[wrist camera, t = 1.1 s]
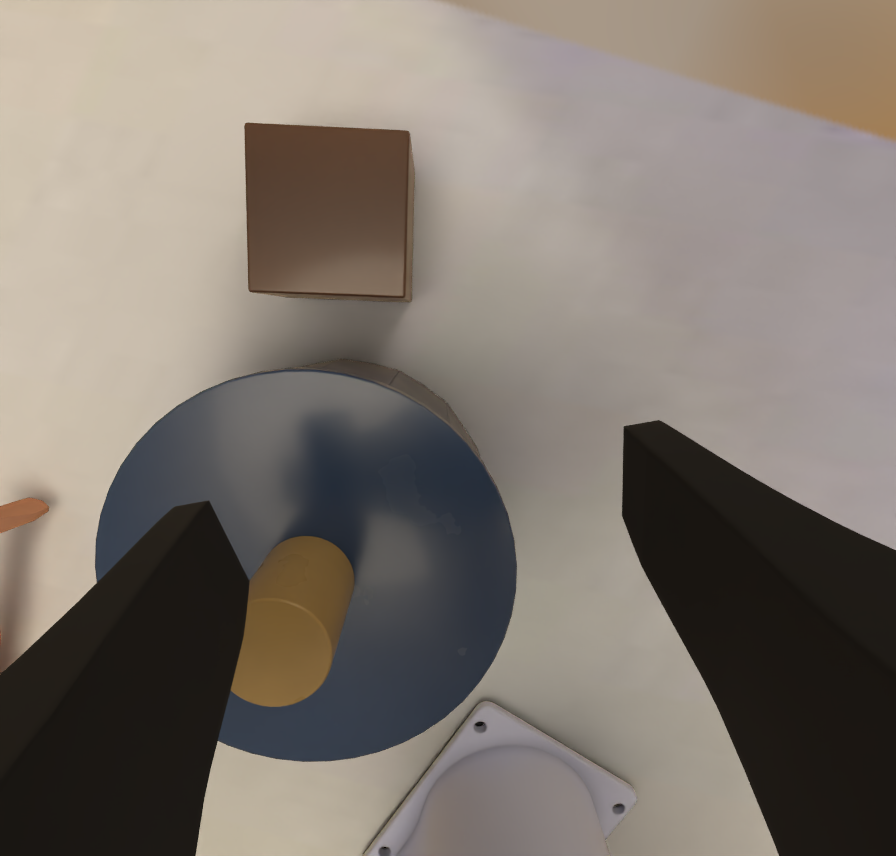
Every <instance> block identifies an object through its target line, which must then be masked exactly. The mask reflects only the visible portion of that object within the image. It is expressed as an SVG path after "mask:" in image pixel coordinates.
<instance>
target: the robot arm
mask: <svg viewBox="0 0 896 856" xmlns="http://www.w3.org/2000/svg"><path fill="white" fill-rule="evenodd" d="M622 517H623V519H624V522H625V525H626V527H627V530H628V533H629V535H630V538H631V541H632V543H633V546H634V548H635V551H636V553H637V556H638V558H639V561H640V563H641V566H642V568H643V569H644V571H645V573H646V575H647V577H648V579H649V581H650V583H651V585H652V586H653V588H654V590H655V592H656V594H657V596H658V597H659V599H660V601H661V603H662V605H663V607H664V609H665V610H666V612H667V614H668V616H669V618H670V619H671V621H672V623H673V625H674V627H675V629H676V630H677V632H678V634H679V636H680V638H681V639H682V641H683V643H684V645H685V647H686V649H687V650H688V652H689V654H690V656H691V658H692V660H693V661H694V663H695V665H696V667H697V669H698V670H699V672H700V674H701V676H702V678H703V680H704V681H705V683H706V685H707V687H708V689H709V691H710V693H711V695H712V698H713V700H714V702H715V704H716V706H717V708H718V710H719V712H720V714H721V717H722V719H723V721H724V724H725V726H726V728H727V731H728V733H729V735H730V737H731V740H732V742H733V744H734V747H735V749H736V751H737V754H738V756H739V758H740V761H741V763H742V765H743V768H744V770H745V772H746V775H747V777H748V780H749V782H750V785H751V787H752V790H753V792H754V794H755V797H756V799H757V802H758V804H759V807H760V809H761V812H762V814H763V816H764V819H765V821H766V824H767V826H768V829H769V831H770V833H771V836H772V838H773V841H774V843H775V846H776V849H777V851H778V854H779V856H896V550H894V549H892V548H889V547H887V546H885V545H883V544H880V543H878V542H876V541H874V540H872V539H869V538H867V537H865V536H863V535H860V534H858V533H856V532H854V531H852V530H850V529H848V528H846V527H844V526H842V525H840V524H838V523H836V522H834V521H832V520H830V519H828V518H826V517H824V516H822V515H820V514H818V513H817V512H815V511H813V510H811V509H809V508H807V507H805V506H803V505H801V504H799V503H797V502H796V501H794V500H792V499H790V498H788V497H786V496H785V495H783V494H781V493H779V492H778V491H776V490H774V489H772V488H770V487H769V486H767V485H765V484H763V483H762V482H760V481H758V480H757V479H755V478H753V477H751V476H750V475H748V474H746V473H745V472H743V471H741V470H740V469H738V468H736V467H735V466H733V465H731V464H730V463H728V462H727V461H725V460H723V459H722V458H720V457H718V456H717V455H715V454H714V453H712V452H710V451H709V450H707V449H706V448H704V447H702V446H701V445H699V444H698V443H696V442H694V441H693V440H691V439H690V438H688V437H686V436H685V435H683V434H682V433H680V432H678V431H677V430H675V429H674V428H672V427H670V426H669V425H667V424H665V423H663V422H662V421H660V420H657V421H652V422H646V423H640V424H635V425H629V426H624V443H623V496H622ZM249 583H250V581H249V579H248V577H247V575H246V573H245V571H244V569H243V567H242V565H241V563H240V561H239V559H238V557H237V555H236V553H235V551H234V549H233V547H232V545H231V543H230V541H229V539H228V537H227V535H226V533H225V531H224V529H223V527H222V525H221V523H220V521H219V519H218V517H217V515H216V513H215V511H214V509H213V507H212V505H211V503H210V501H209V500H208V501H203V502H197V503H191V504H186V505H180V506H175V507H173V508H172V509H171V510H170V511H169V512H168V513H166V514H165V515H164V516H163V517H162V518H161V519H160V520H159V521H158V522H157V523H156V524H155V525H154V526H153V527H152V528H151V529H150V530H149V531H148V532H147V533H146V534H145V535H144V536H143V537H142V538H141V539H140V540H139V541H138V542H137V543H136V544H135V545H134V546H133V547H132V548H131V549H130V550H129V551H128V552H127V553H126V554H125V555H124V556H123V557H122V558H121V559H120V560H119V561H118V562H117V563H116V564H115V565H114V566H113V567H112V568H111V569H110V570H109V571H108V572H107V573H106V574H105V575H104V576H103V577H102V578H101V579H100V580H99V581H98V582H97V583H96V584H95V585H94V586H93V587H92V588H91V589H90V590H89V591H88V592H87V593H86V594H85V595H84V597H83V598H82V599H81V600H80V601H78V602H77V603H76V604H75V605H74V606H73V607H72V608H71V609H70V610H69V611H68V612H67V613H66V614H65V615H64V616H63V617H62V618H61V619H60V620H59V621H57V622H56V623H55V624H54V625H53V626H52V627H51V628H50V629H49V630H48V631H47V632H46V633H45V634H44V635H43V636H42V637H40V638H39V639H38V640H37V641H36V642H35V643H34V644H33V645H32V646H31V647H30V648H29V649H28V650H27V651H26V652H25V653H24V654H22V655H21V656H20V657H19V658H18V659H17V660H16V661H15V662H14V663H13V664H11V665H10V666H9V667H8V668H7V669H6V670H5V671H4V672H2V673H1V674H0V856H195V855H196V848H197V842H198V835H199V829H200V822H201V816H202V809H203V803H204V797H205V792H206V788H207V783H208V778H209V774H210V769H211V765H212V761H213V757H214V753H215V749H216V745H217V741H218V737H219V733H220V729H221V726H222V722H223V718H224V714H225V710H226V706H227V702H228V698H229V694H230V690H231V686H232V683H233V678H234V674H235V670H236V666H237V662H238V658H239V654H240V650H241V646H242V641H243V637H244V630H245V622H246V614H247V604H248V594H249ZM480 721H482V722H484V723H485V724H484V725H483V726H476V725H475V723H477V722H480ZM636 802H637V795H636V793H635V790H634V788H633V787H632V786H631V785H630V784H628V783H626V782H625V781H623V780H621V779H620V778H618V777H616V776H615V775H613V774H611V773H610V772H608V771H606V770H605V769H603V768H601V767H600V766H598V765H596V764H595V763H593V762H591V761H590V760H588V759H586V758H585V757H583V756H581V755H580V754H578V753H576V752H575V751H573V750H571V749H570V748H568V747H566V746H565V745H563V744H561V743H560V742H558V741H556V740H555V739H553V738H551V737H550V736H548V735H546V734H545V733H543V732H541V731H540V730H538V729H536V728H535V727H533V726H531V725H530V724H528V723H526V722H525V721H523V720H521V719H520V718H518V717H516V716H515V715H513V714H511V713H510V712H508V711H506V710H505V709H503V708H501V707H500V706H498V705H496V704H495V703H493V702H490V701H484V702H481V703H479V704H478V705H477V706H476V707H475V709H474V710H473V711H472V713H471V714H470V715H469V716H468V718H467V719H466V720H465V722H464V723H463V724H462V726H461V727H460V728H459V730H458V731H457V732H456V734H455V735H454V736H453V737H452V739H451V740H450V741H449V743H448V744H447V745H446V747H445V748H444V749H443V751H442V752H441V753H440V755H439V756H438V757H437V758H436V760H435V761H434V762H433V764H432V765H431V766H430V768H429V769H428V770H427V772H426V773H425V774H424V776H423V777H422V778H421V780H420V781H419V782H418V783H417V785H416V786H415V787H414V789H413V790H412V791H411V793H410V794H409V795H408V797H407V798H406V799H405V801H404V802H403V803H402V804H401V806H400V807H399V808H398V810H397V811H396V812H395V814H394V815H393V816H392V818H391V819H390V820H389V822H388V823H387V824H386V825H385V827H384V828H383V829H382V831H381V832H380V833H379V835H378V836H377V837H376V839H375V840H374V841H373V843H372V844H371V845H370V846H369V848H368V849H367V850H366V852H365V853H364V854H363V856H610V853H609V850H608V847H607V844H606V841H605V840H606V839H607V838H608V836H609V835H610V834H611V833H612V832H613V830H614V829H615V828H616V827H617V826H618V825H619V823H620V822H621V821H622V820H623V819H624V817H625V816H626V815H627V814H628V813H629V811H630V810H631V809H632V808H633V807H634V805H635V804H636ZM619 803H620V805H619V806H616V807H614V805H615V804H619ZM384 846H385V847H388V848H386V849H384V848H381V847H384Z"/></svg>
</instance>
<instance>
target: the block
mask: <svg viewBox="0 0 896 856" xmlns="http://www.w3.org/2000/svg"><path fill="white" fill-rule="evenodd" d="M244 128H245V169H246V209H247V250H248V289H249V291H250V292H253V293H260V294H267V295H274V296H281V297H289V298H313V299H338V300H363V301H388V302H411V300H412V265H413V226H414V188H415V170H414V162H413V154H412V147H411V139H410V133H409V131H405V130H385V129H364V128H344V127H323V126H303V125H283V124H262V123H245V126H244Z"/></svg>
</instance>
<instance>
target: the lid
mask: <svg viewBox="0 0 896 856" xmlns="http://www.w3.org/2000/svg"><path fill="white" fill-rule="evenodd" d="M208 500H209V501H210V503H211V505H212V507H213V509H214V511H215V513H216V515H217V517H218V519H219V521H220V523H221V525H222V527H223V529H224V531H225V533H226V535H227V537H228V539H229V541H230V543H231V545H232V547H233V549H234V551H235V553H236V555H237V557H238V559H239V561H240V563H241V565H242V567H243V569H244V571H245V573H246V575H247V577H248V579H249V581H250V583H249V594H248V604H247V614H246V622H245V630H244V637H243V641H242V646H241V650H240V654H239V658H238V662H237V666H236V670H235V674H234V678H233V683H232V686H231V690H230V694H229V698H228V702H227V706H226V710H225V714H224V718H223V722H222V726H221V729H220V733H219V737H218V741H220V742H222V743H224V744H226V745H228V746H231V747H234V748H237V749H240V750H243V751H246V752H249V753H252V754H257V755H261V756H266V757H270V758H275V759H282V760H292V761H302V762H311V761H335V760H343V759H351V758H356V757H360V756H364V755H368V754H372V753H376V752H380V751H382V750H385V749H388V748H390V747H393V746H396V745H398V744H401V743H403V742H405V741H407V740H409V739H411V738H413V737H415V736H417V735H419V734H421V733H422V732H424V731H426V730H427V729H429V728H430V727H432V726H433V725H435V724H436V723H437V722H439V721H440V720H442V719H443V718H445V717H446V716H447V715H448V714H449V713H450V712H451V711H453V710H454V709H455V708H456V707H457V706H458V705H459V704H460V703H462V702H463V701H464V700H465V698H466V697H467V696H468V695H469V694H470V693H471V691H472V690H473V689H474V688H475V687H476V686H477V685H478V683H479V682H480V681H481V679H482V678H483V676H484V675H485V673H486V672H487V670H488V669H489V667H490V665H491V664H492V662H493V661H494V659H495V657H496V655H497V653H498V650H499V648H500V646H501V644H502V642H503V640H504V638H505V634H506V631H507V628H508V625H509V622H510V619H511V616H512V611H513V605H514V599H515V593H516V576H517V561H516V552H515V543H514V537H513V533H512V529H511V525H510V521H509V517H508V513H507V511H506V508H505V506H504V503H503V501H502V498H501V496H500V493H499V491H498V488H497V486H496V484H495V482H494V480H493V479H492V477H491V475H490V473H489V472H488V470H487V468H486V466H485V465H484V463H483V461H482V460H481V459H480V458H479V456H478V455H477V454H476V452H475V451H474V450H473V448H472V447H471V446H470V444H469V443H468V442H467V441H466V440H465V439H464V438H463V437H462V436H461V435H460V434H459V433H458V432H457V431H456V430H455V429H454V428H453V427H452V426H451V425H450V424H449V423H448V422H447V421H446V420H445V419H443V418H442V417H441V416H439V415H438V414H437V413H436V412H434V411H433V410H432V409H430V408H429V407H428V406H426V405H425V404H423V403H422V402H420V401H418V400H416V399H415V398H413V397H411V396H409V395H408V394H406V393H404V392H402V391H401V390H398V389H396V388H394V387H391V386H389V385H386V384H384V383H382V382H379V381H377V380H374V379H371V378H367V377H363V376H360V375H356V374H352V373H348V372H343V371H336V370H328V369H321V368H285V369H277V370H269V371H261V372H257V373H253V374H250V375H246V376H242V377H238V378H234V379H231V380H228V381H226V382H223V383H221V384H218V385H216V386H213V387H211V388H209V389H206V390H204V391H202V392H200V393H198V394H196V395H195V396H193V397H191V398H190V399H188V400H186V401H185V402H183V403H181V404H179V405H178V406H176V407H175V408H174V409H173V410H171V411H170V412H169V413H168V414H166V415H165V416H164V417H162V418H161V419H160V420H159V421H157V422H156V423H155V424H154V425H153V426H152V427H151V428H150V429H149V430H148V432H147V433H146V434H145V435H144V436H143V437H142V438H141V439H140V440H139V441H138V442H137V443H136V445H135V446H134V447H133V449H132V450H131V452H130V453H129V455H128V456H127V457H126V459H125V460H124V462H123V463H122V465H121V466H120V468H119V470H118V472H117V474H116V476H115V478H114V480H113V482H112V484H111V486H110V488H109V491H108V494H107V497H106V500H105V503H104V506H103V509H102V512H101V515H100V520H99V526H98V532H97V537H96V555H95V570H96V579H97V582H98V581H99V580H100V579H101V578H102V577H103V576H104V575H105V574H106V573H107V572H108V571H109V570H110V569H111V568H112V567H113V566H114V565H115V564H116V563H117V562H118V561H119V560H120V559H121V558H122V557H123V556H124V555H125V554H126V553H127V552H128V551H129V550H130V549H131V548H132V547H133V546H134V545H135V544H136V543H137V542H138V541H139V540H140V539H141V538H142V537H143V536H144V535H145V534H146V533H147V532H148V531H149V530H150V529H151V528H152V527H153V526H154V525H155V524H156V523H157V522H158V521H159V520H160V519H161V518H162V517H163V516H164V515H165V514H166V513H168V512H169V511H170V510H171V509H172V508H173V507H175V506H180V505H186V504H191V503H197V502H203V501H208Z"/></svg>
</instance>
